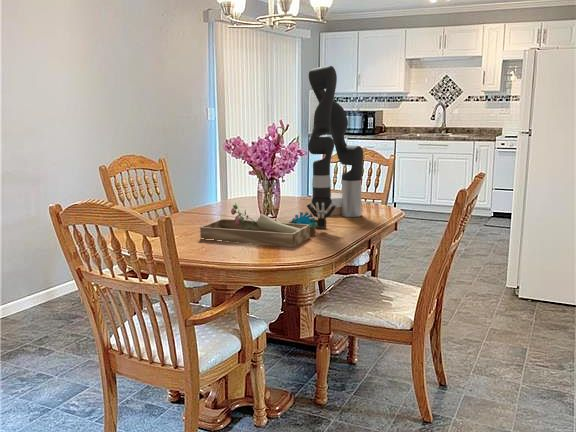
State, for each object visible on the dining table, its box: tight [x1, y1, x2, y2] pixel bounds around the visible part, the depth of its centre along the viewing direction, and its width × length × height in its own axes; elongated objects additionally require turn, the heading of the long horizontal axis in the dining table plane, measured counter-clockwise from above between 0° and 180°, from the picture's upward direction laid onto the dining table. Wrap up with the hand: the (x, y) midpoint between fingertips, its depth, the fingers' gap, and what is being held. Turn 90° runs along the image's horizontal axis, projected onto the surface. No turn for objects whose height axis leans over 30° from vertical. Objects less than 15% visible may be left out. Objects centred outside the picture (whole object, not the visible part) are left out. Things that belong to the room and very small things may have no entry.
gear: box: [291, 211, 317, 231], centre depth 243 cm, size 11×6×10 cm
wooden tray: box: [199, 218, 311, 248], centre depth 230 cm, size 18×40×5 cm, turn 68°
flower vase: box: [230, 202, 300, 233], centre depth 233 cm, size 12×12×35 cm
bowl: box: [314, 192, 342, 216], centre depth 285 cm, size 17×17×8 cm
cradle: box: [285, 217, 327, 236], centre depth 243 cm, size 16×14×4 cm
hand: (321, 226), depth 240 cm, fingers closed
